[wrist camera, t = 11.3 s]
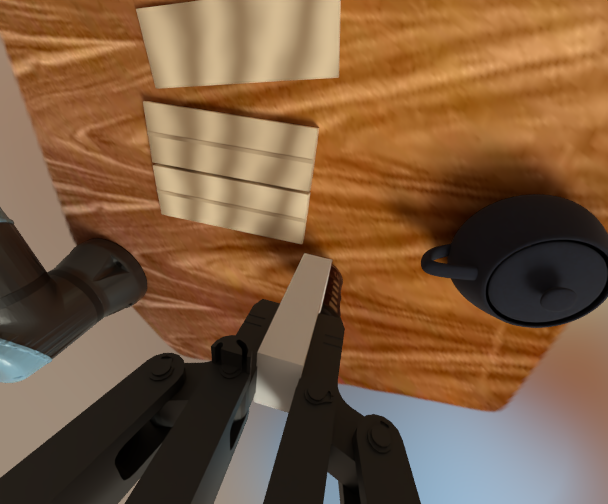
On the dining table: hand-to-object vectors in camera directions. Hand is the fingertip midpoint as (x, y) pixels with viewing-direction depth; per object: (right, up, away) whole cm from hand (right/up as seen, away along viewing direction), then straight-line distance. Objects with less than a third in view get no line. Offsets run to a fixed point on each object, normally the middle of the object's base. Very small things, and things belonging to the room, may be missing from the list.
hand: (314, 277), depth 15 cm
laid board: (-11, +16, +23) cm, 30 cm away
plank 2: (-12, +9, +28) cm, 31 cm away
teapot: (+27, +2, +22) cm, 35 cm away
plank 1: (-8, +26, +18) cm, 33 cm away
